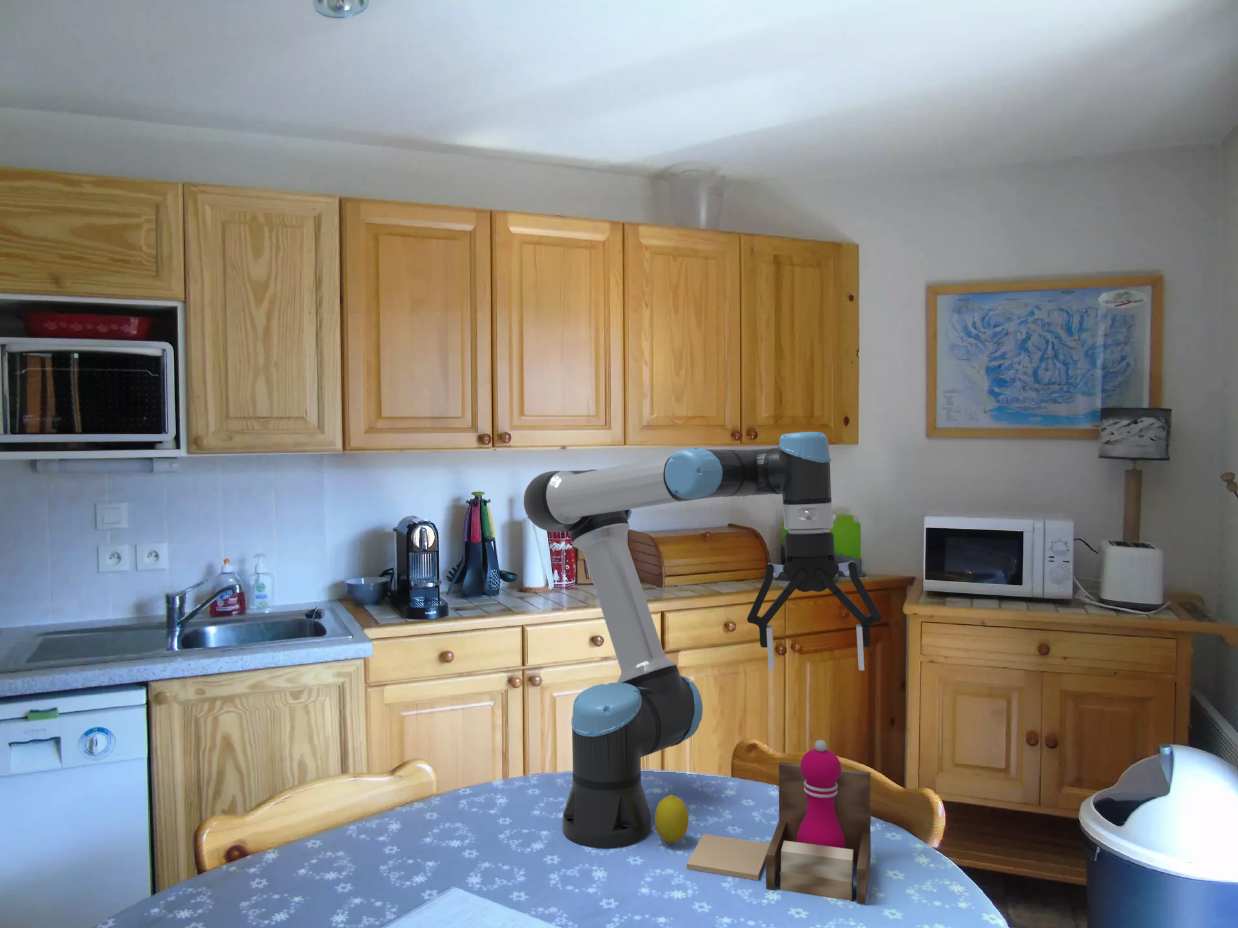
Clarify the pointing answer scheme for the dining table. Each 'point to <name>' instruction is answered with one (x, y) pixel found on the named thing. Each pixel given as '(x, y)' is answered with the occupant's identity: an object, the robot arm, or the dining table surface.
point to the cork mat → (729, 857)
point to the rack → (849, 811)
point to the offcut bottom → (817, 886)
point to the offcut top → (817, 860)
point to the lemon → (671, 819)
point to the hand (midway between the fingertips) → (815, 668)
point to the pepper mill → (820, 798)
